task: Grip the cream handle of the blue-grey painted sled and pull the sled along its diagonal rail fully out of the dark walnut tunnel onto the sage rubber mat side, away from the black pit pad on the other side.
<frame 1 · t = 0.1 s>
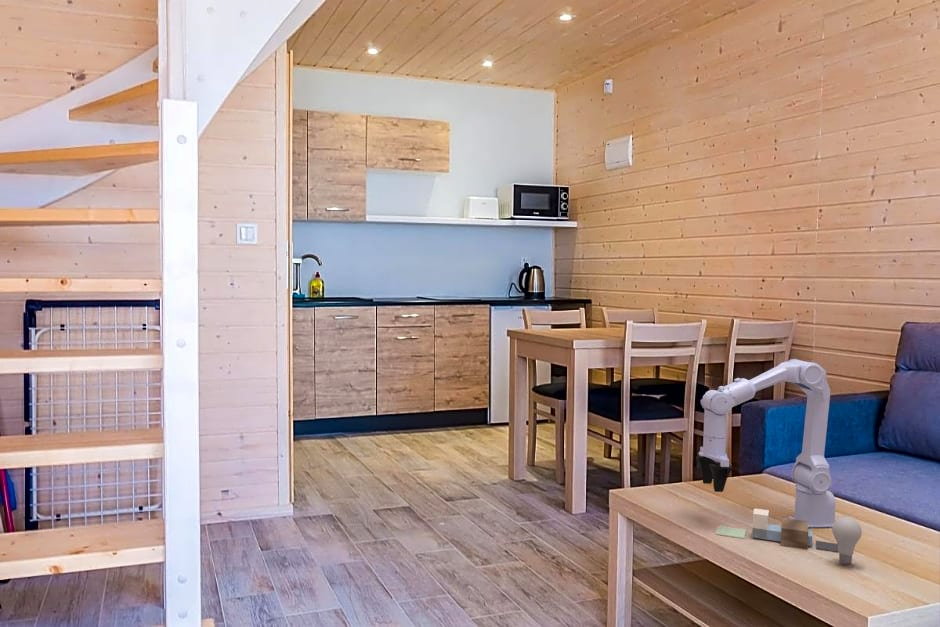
hand: (712, 487, 202), 10 cm above the table, fingers open, 7 cm apart
sled: (782, 526, 191), point 3 cm above the table, slide at 0.0 cm
lightbulb: (845, 565, 176), on the table
pit pad: (829, 547, 187), on the table
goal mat: (730, 532, 197), on the table
tunnel: (794, 542, 191), on the table
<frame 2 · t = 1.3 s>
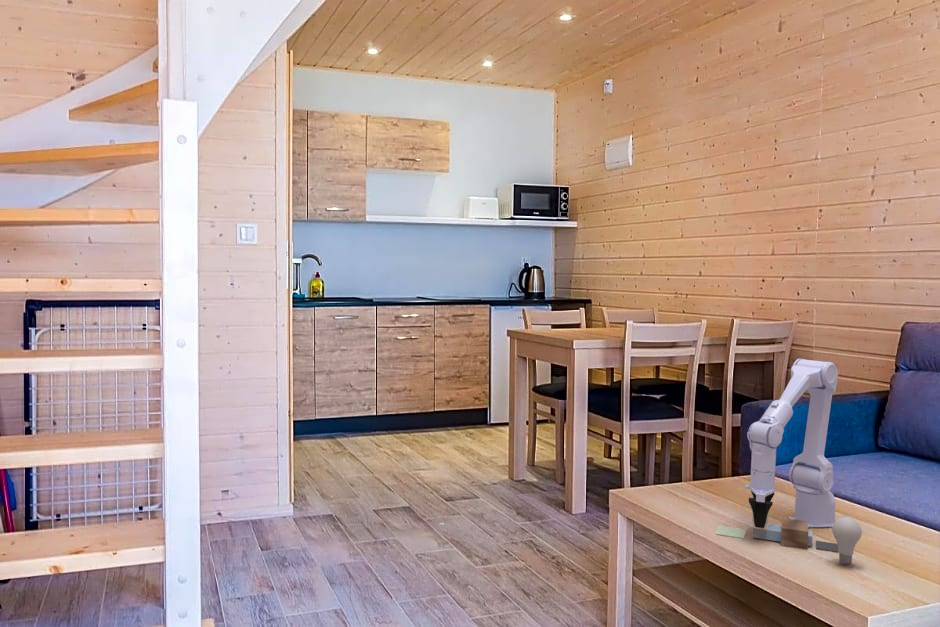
hand: (760, 523, 194), 4 cm above the table, fingers open, 7 cm apart
nothing on the table moved.
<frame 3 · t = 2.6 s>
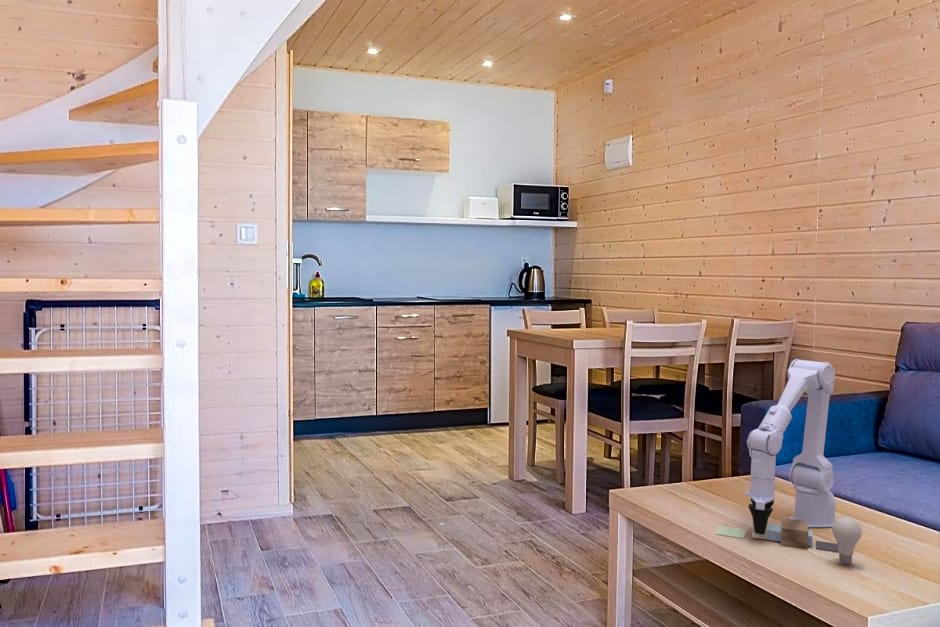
hand: (760, 530, 194), 2 cm above the table, fingers closed on sled, 5 cm apart
sled: (782, 526, 191), point 3 cm above the table, slide at 0.0 cm, touching gripper
everything else where it was.
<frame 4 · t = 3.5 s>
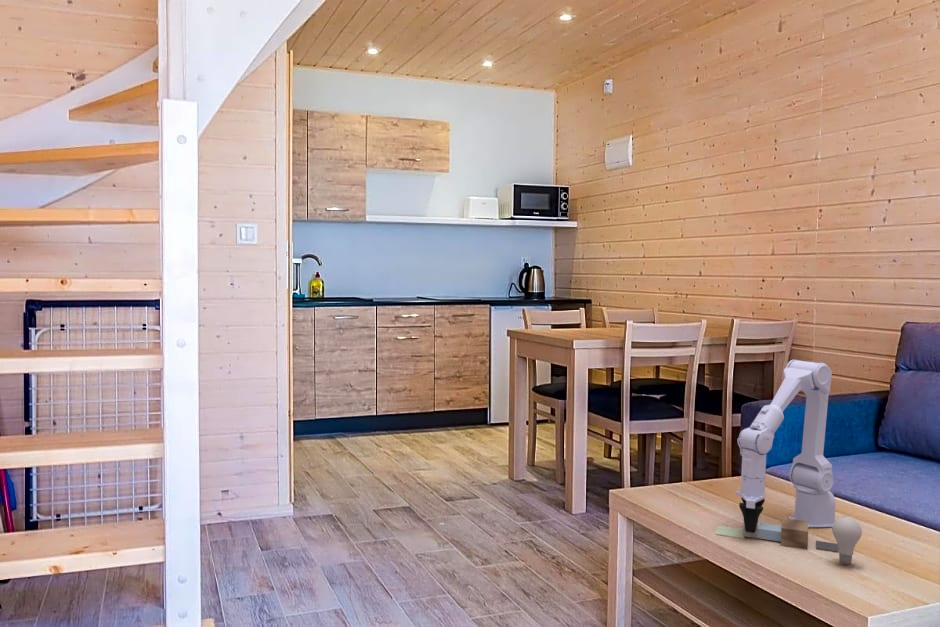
hand: (751, 528, 195), 2 cm above the table, fingers closed on sled, 5 cm apart
sled: (773, 525, 192), point 3 cm above the table, slide at 2.2 cm, touching gripper
everything else where it was.
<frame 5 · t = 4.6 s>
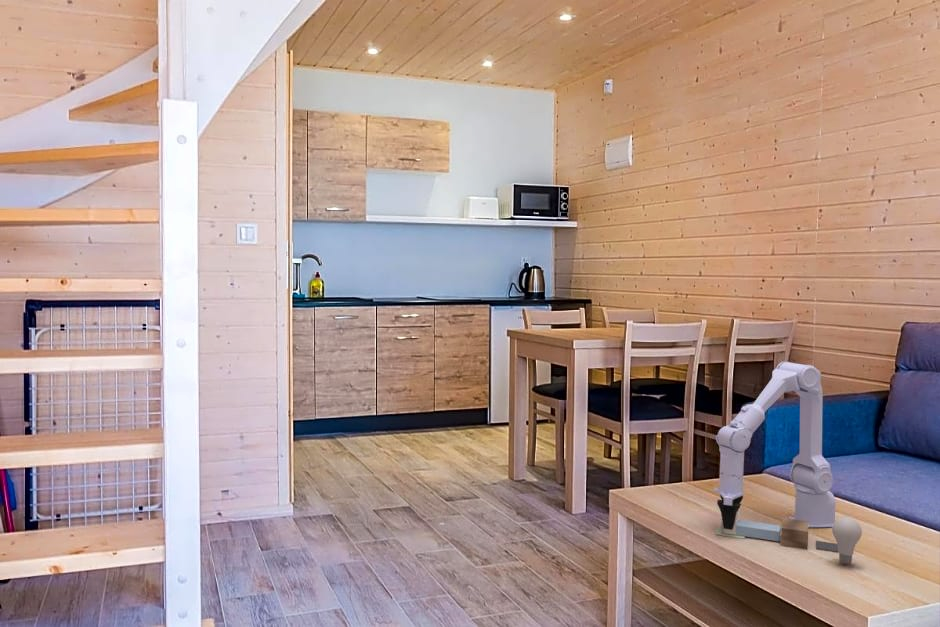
hand: (729, 525, 197), 2 cm above the table, fingers closed on sled, 5 cm apart
sled: (751, 522, 194), point 3 cm above the table, slide at 7.4 cm, touching gripper
everything else where it was.
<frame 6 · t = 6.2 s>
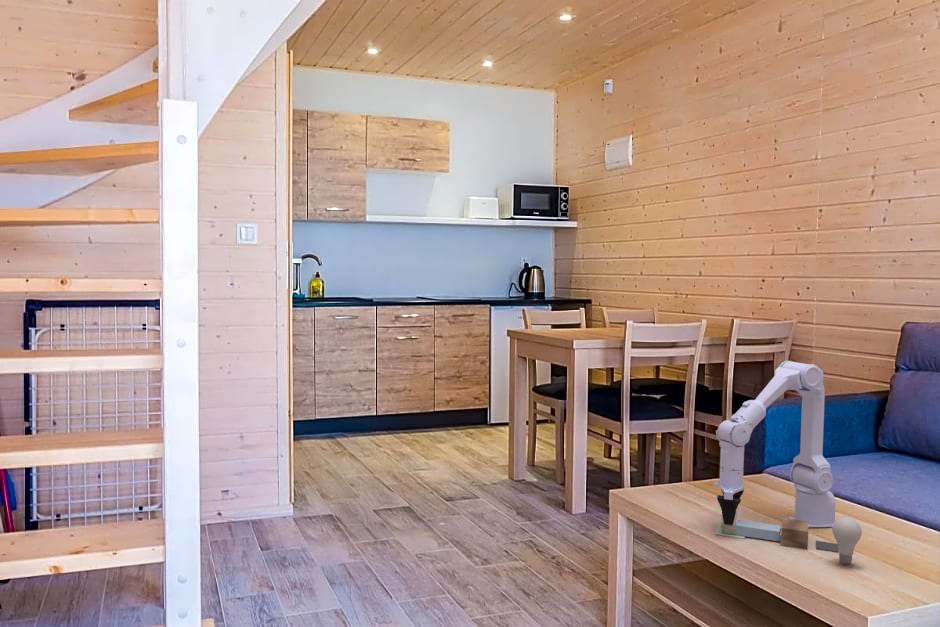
hand: (729, 520, 197), 3 cm above the table, fingers open, 7 cm apart
sled: (751, 522, 194), point 3 cm above the table, slide at 7.4 cm
everything else where it was.
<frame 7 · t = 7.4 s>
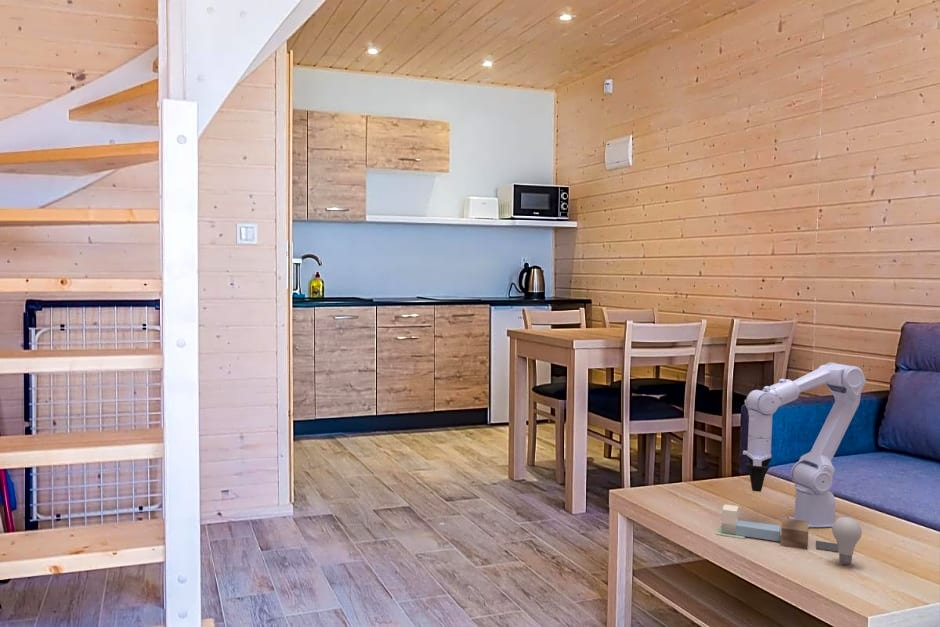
hand: (757, 487, 201), 10 cm above the table, fingers open, 7 cm apart
nothing on the table moved.
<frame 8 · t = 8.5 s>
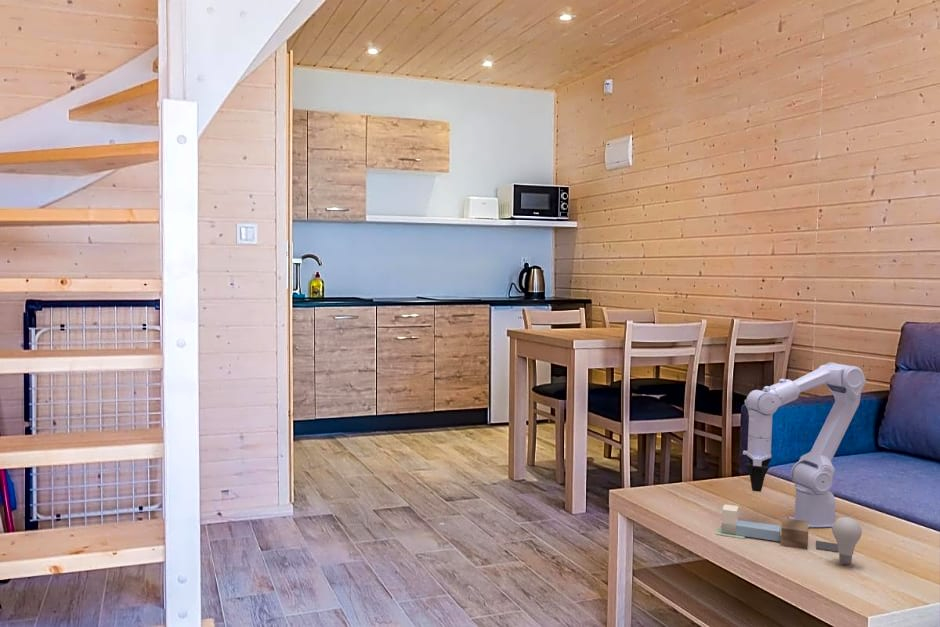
hand: (757, 487, 201), 10 cm above the table, fingers open, 7 cm apart
nothing on the table moved.
at the end: sled slide at 7.4 cm; the gripper is holding nothing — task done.
